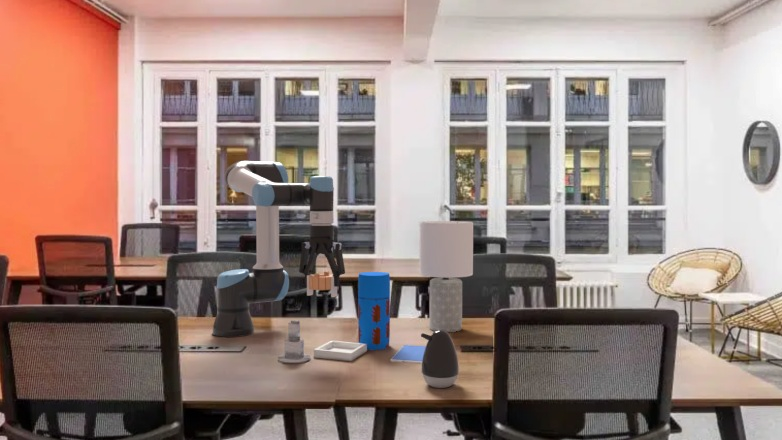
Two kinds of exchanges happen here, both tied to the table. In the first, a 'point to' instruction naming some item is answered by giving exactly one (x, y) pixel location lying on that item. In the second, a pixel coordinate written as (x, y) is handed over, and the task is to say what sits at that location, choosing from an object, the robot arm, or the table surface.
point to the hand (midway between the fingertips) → (322, 295)
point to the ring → (320, 281)
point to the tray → (340, 350)
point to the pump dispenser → (439, 360)
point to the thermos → (374, 309)
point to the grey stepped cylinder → (294, 346)
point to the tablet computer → (409, 354)
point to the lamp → (446, 269)
